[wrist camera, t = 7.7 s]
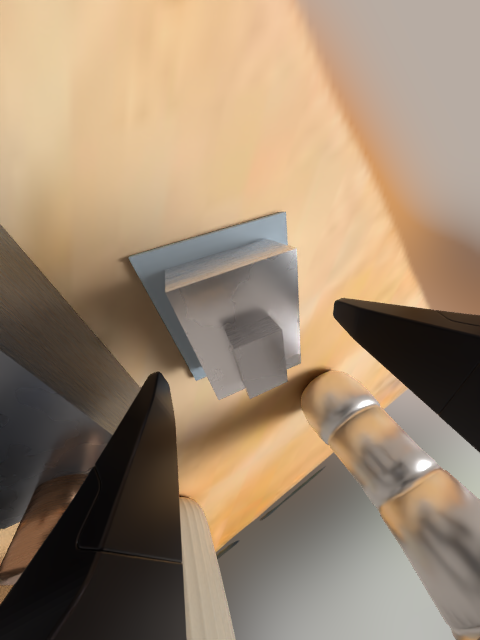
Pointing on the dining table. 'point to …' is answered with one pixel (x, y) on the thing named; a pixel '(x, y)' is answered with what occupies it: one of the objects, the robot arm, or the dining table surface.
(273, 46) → the dining table surface
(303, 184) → the dining table surface
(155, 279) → the rubber pad
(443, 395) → the robot arm
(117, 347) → the dining table surface
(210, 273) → the lever cap
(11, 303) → the body
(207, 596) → the canister
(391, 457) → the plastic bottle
